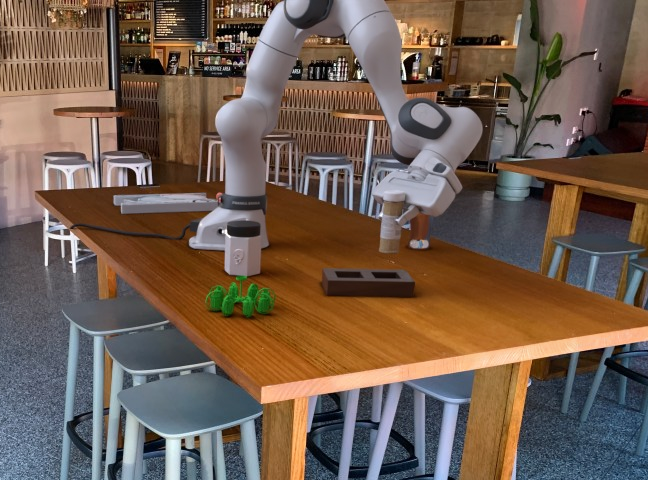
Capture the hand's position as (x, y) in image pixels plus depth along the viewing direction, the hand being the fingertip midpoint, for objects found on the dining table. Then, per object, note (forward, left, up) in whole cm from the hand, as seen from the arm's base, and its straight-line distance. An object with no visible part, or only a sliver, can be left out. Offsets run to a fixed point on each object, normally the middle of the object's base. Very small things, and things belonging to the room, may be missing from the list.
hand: (389, 221), depth 174 cm
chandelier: (-33, -17, -16) cm, 40 cm away
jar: (-32, +14, -16) cm, 38 cm away
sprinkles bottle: (+1, 0, -7) cm, 7 cm away
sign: (-57, +104, -16) cm, 120 cm away
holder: (-4, 0, -16) cm, 16 cm away
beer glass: (+18, +45, -16) cm, 51 cm away
